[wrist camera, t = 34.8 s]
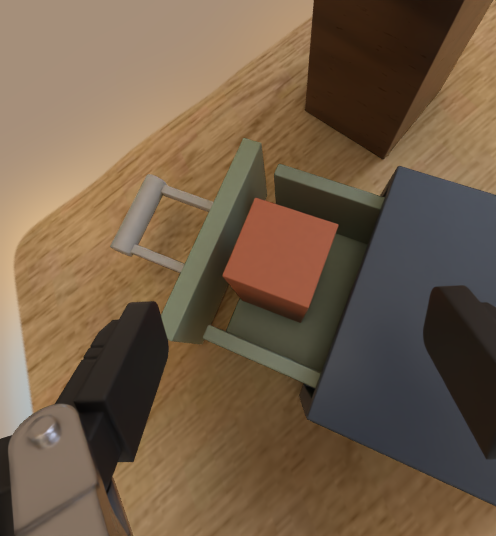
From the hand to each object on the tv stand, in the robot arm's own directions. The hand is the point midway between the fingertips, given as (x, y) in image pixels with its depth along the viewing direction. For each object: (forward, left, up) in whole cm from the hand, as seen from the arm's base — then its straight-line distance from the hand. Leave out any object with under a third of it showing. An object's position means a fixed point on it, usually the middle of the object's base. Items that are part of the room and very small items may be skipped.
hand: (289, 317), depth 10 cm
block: (+3, +3, -14) cm, 14 cm away
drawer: (+3, +4, -15) cm, 15 cm away
